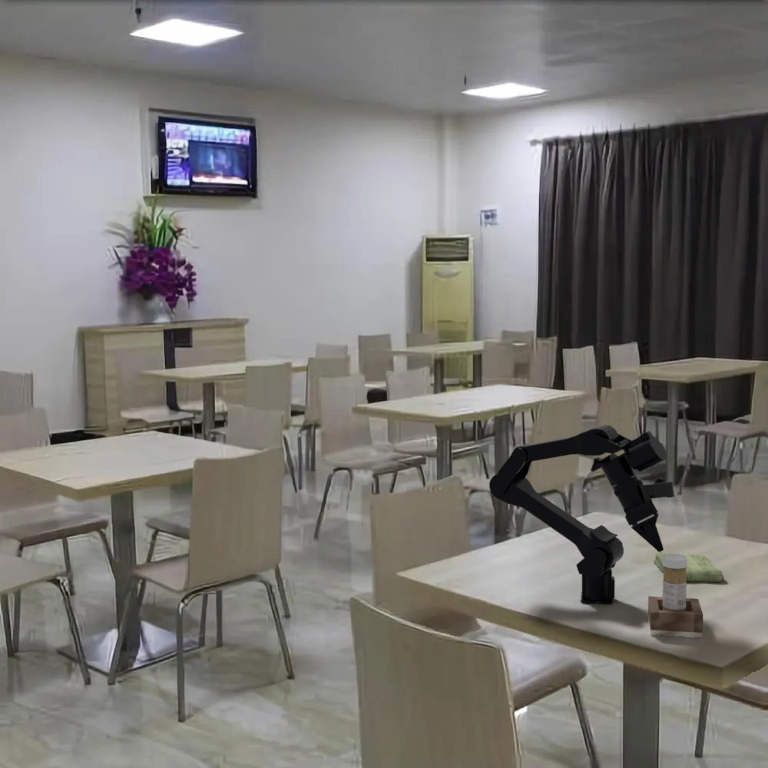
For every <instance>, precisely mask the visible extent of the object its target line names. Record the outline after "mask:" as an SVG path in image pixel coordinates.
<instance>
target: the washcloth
mask: <svg viewBox="0 0 768 768" xmlns="http://www.w3.org/2000/svg"><path fill="white" fill-rule="evenodd" d="M665 554H666V553H664V552H658V553H656V554H655V559H654V560H653V564H654V565H655V566H656V565H657V566H656V567H657V568H658V567H659V568H658V569H659V570H661V571H660V572H661V573H662V574H663V573H664V567H663V556H664V555H665ZM673 554H681V555H684V556H686V557H687V567H686V582H687V581H691V582H692V583H693V582H704V583H708V582H709V583H721V582H722V581H723V579H724V578H725V576H724V575H723V571H722V570H721V569H720V568H719V567H718V566H716V565H715V563H714V562H713V561H712V560H711V559H710V557H708V556H707V555H706V554H695V553H689V552H688V553H680V552H676V553H673ZM691 582H690V583H691Z"/></svg>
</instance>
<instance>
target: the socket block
mask: <svg viewBox="0 0 768 768" xmlns="http://www.w3.org/2000/svg"><path fill="white" fill-rule="evenodd" d="M647 600H648V603H647V605H648V606H647V607H648V608H647V614H648V615H647V620H648V626H649V627H648V628H649V633H650V636H660V635H669V636H668V637H678V636H685V637H684V638H695V637H700V638H699V639H703V638H704V613H703V610H702V606H701V603H700V601H699V598H688V597H686V608H685V611H669V610H663V596H652V595H651V596H648V599H647Z"/></svg>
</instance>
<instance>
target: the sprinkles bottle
mask: <svg viewBox="0 0 768 768" xmlns="http://www.w3.org/2000/svg"><path fill="white" fill-rule="evenodd" d="M663 567H664V574H663V579H662V597H663V610H669V611H685V608H686V598H687V581H686V567H687V557H686V556H684V555H681V554H674V553H665V555H664V556H663Z"/></svg>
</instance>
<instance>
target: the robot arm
mask: <svg viewBox="0 0 768 768" xmlns="http://www.w3.org/2000/svg"><path fill="white" fill-rule="evenodd" d="M621 451H623V453H621V454H619V455H617V454H616V453H618V452H621ZM604 454H605V455H606V454H609V455H606V456H605V457H602V458H601V457H600V456H602V455H604ZM570 455H577V456H591V457H593V456H594V457H595V456H597V457H595V458H593V463H592V466H591V468H590V470H591V472H592V473H593V472H597V471H598V470H600V469H601V470H602V472H603V474H604V476H605V478H606V480H607V482H608V484H609V485H610V487H611V490H612V491H613V493H614V495H615V497H616V498H617V500H618V502H619V503H620V504H619V505H620V506H621V507H622V510H623V512H624V514H625V516H624V518H625V520H626V521H627V524H628V526H629V527H630V528H631V529H632V530H633V531H634V532H636V533H637V535H639V536H640V537H641V538H643V540H645V541H646V542H647V543H648V544H649V545H650V546H651V547H653V548H654V549H655V550H656V552H658V553H662V552H663V551H664V545H663V543H662V540H661V536H660V534H659V531H658V528H657V521H658V518H659V513H658V512H659V511H658V509H657V508H656V506H655V504H654V503H653V500H652V499H660V498H669V499H670V498H674V497H675V489H674V485H673V481H666V480H664V478H663V477H659V478H655V479H654V483H650V484H643V482H642V480H641V479H639V477H638V475H637V474H636V472H635V470H637V471H638V472H640V473H642V472H645V471H647V470H648V469H651V468H653V467H655V466H657V465H659V464H661V463H663V462H665V461H666V460H667V458H668V454H667V451H666V449H665V447H664V445H663V443H662V442H660V440H659V439H658V438H657V437H656V436H655V435H653V433H652V431H650V430H647V431H646V432H644V433H642V434H640V435H639V436H637V437H636V438H634V439H633V440H632V439H630V438H628V437H626V436H624V435H622V434H620V433H618V431H617V430H616V428H614V427H613V426H611V425H609V424H603V425H599V426H597V427H593V428H590V429H588V430H586V431H583V432H581V433H578V434H576V435H573V436H568V437H563V438H555V439H551V440H546V441H540V442H535V443H524V444H522V445H518V446H516V447H515V448H514V449H513V451H512V452H511V454H510V456H509V457H508V459H507V460H506V461H505V462H504V464H503V465H502V466H501V467H500V469H499V470H498V472H497V473H496V474H495V475H493V476H492V477H491V479H490V480H489V484H488V485H489V486H488V487H489V490H490V491H489V492H490V494H491V496H492V497H493V498H494V499H496V500H499V501H501V502H503V503H505V504H506V505H510V506H514V507H518V508H520V509H521V508H522V509H523V510H525V511H526V512H528V513H530V514H531V516H533V517H534V518H536V519H538V520H540V521H541V522H542V523H543V524H544V525H547V526H548V527H549V528H551V529H552V530H553V531H555V532H556V533H558V534H560V536H562V537H564V538H566V540H568V541H570V542H571V543H572V544H573V545H575V547H576V548H577V550H578V552H579V553H580V555H581V556H582V557H583V558H582V559H581V560H580V561H579V562H578V563H576V569H577V572H578V574H579V575H581V593H580V594H581V595H580V597H581V598H580V602H581V603H586V604H587V603H588V604H590V603H591V604H606V605H607V604H608V605H609V604H611V605H613V600H614V599H615V598H616V596H615V594H616V591H615V588H616V587H615V586H616V583H615V582H616V578H615V576H613V570H612V569H614V568H615V566H616V563H617V562H619V561H621V559H622V558H623V556H624V553H625V552H624V550H625V549H624V545H623V542H622V541H621V540H620V539H619V538H618V534H617V533H613V532H612V531H610V530H609V529H608V528H607V527H606V526H604V525H603V524H600V525H599V526H597V527H595V528H592V527H588V526H587V525H585V524H584V523H583V522H581V521H580V520H578V519H577V518H575V517H573V516H572V515H571V514H569V513H568V512H566V511H565V510H564V509H562V508H560V507H559V506H557V505H556V504H555V503H553V502H552V501H550V500H548V499H547V498H546V497H545V496H543V495H541V494H540V493H539V492H537V491H536V490H535V488H534V487H533V485H532V483H531V481H529V480H528V478H527V476H528V474H529V473H530V470H531V466H532V463H533V462H536V461H542V460H547V459H554V458H559V457H565V456H570Z"/></svg>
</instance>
